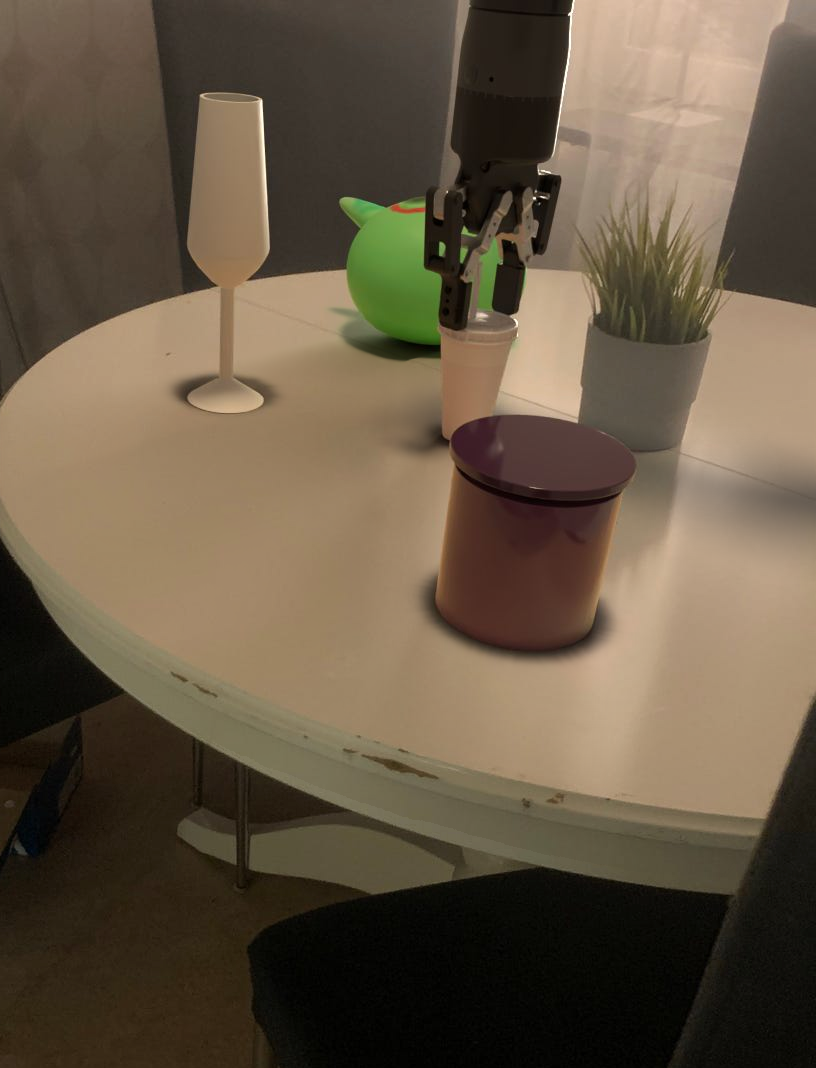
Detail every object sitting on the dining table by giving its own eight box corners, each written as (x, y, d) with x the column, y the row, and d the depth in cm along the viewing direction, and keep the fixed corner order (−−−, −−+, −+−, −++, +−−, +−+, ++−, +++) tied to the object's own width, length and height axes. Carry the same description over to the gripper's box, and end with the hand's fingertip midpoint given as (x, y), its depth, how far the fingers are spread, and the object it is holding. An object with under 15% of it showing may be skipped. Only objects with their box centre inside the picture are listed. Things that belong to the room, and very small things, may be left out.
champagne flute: (240, 380, 102) (247, 90, 89) (278, 406, 97) (291, 104, 84) (173, 391, 98) (171, 91, 85) (209, 418, 94) (212, 105, 81)
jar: (494, 554, 77) (520, 401, 71) (630, 618, 71) (671, 456, 65) (393, 608, 70) (412, 443, 64) (534, 683, 64) (570, 509, 58)
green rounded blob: (363, 368, 107) (377, 207, 99) (323, 313, 120) (333, 168, 112) (537, 365, 111) (564, 211, 103) (480, 312, 125) (500, 172, 117)
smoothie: (445, 414, 96) (465, 248, 89) (514, 432, 94) (540, 263, 86) (412, 438, 92) (429, 265, 84) (484, 457, 89) (508, 281, 82)
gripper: (492, 97, 72) (460, 351, 81) (610, 86, 81) (569, 315, 90) (403, 81, 76) (383, 325, 85) (525, 72, 85) (494, 293, 94)
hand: (479, 319), depth 88 cm, fingers closed on smoothie, 6 cm apart
